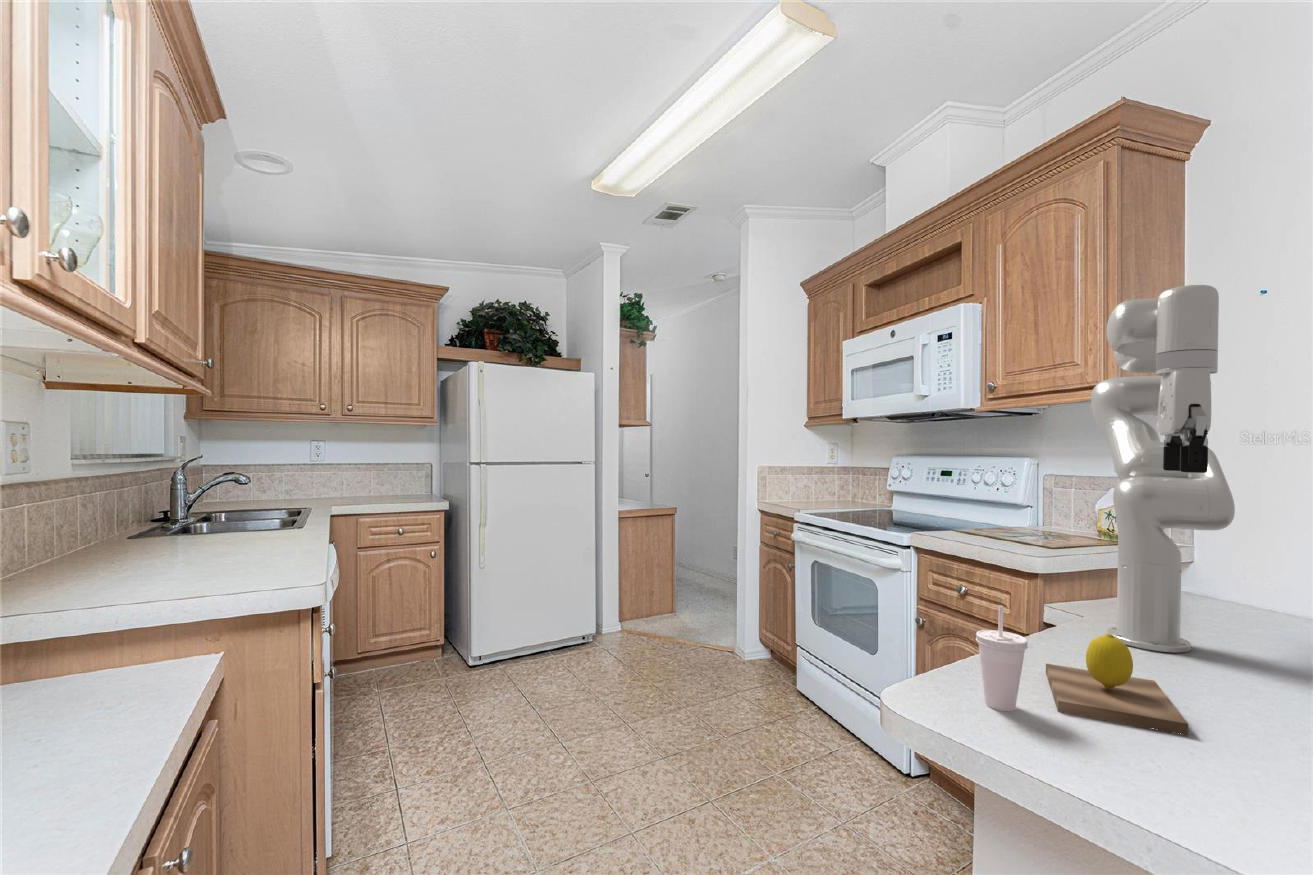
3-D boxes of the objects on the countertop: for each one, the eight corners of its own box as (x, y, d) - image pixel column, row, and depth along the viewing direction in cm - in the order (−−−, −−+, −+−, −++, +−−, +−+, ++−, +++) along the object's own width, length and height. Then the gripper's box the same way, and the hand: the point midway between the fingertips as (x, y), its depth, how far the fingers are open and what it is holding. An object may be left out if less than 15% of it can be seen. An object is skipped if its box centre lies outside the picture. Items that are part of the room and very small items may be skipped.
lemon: (1140, 698, 87) (1141, 641, 87) (1096, 694, 88) (1097, 638, 88) (1120, 684, 92) (1120, 630, 92) (1078, 680, 93) (1079, 627, 93)
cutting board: (1045, 672, 100) (1045, 663, 100) (1154, 690, 94) (1154, 680, 94) (1057, 711, 85) (1057, 700, 85) (1188, 735, 79) (1188, 724, 79)
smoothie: (968, 705, 87) (970, 604, 87) (981, 692, 91) (983, 597, 91) (1020, 720, 82) (1022, 614, 82) (1031, 706, 87) (1033, 605, 87)
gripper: (1144, 371, 109) (1142, 469, 109) (1171, 358, 93) (1169, 472, 93) (1199, 370, 105) (1197, 471, 105) (1236, 356, 90) (1234, 474, 90)
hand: (1184, 471), depth 99 cm, fingers open, 9 cm apart
